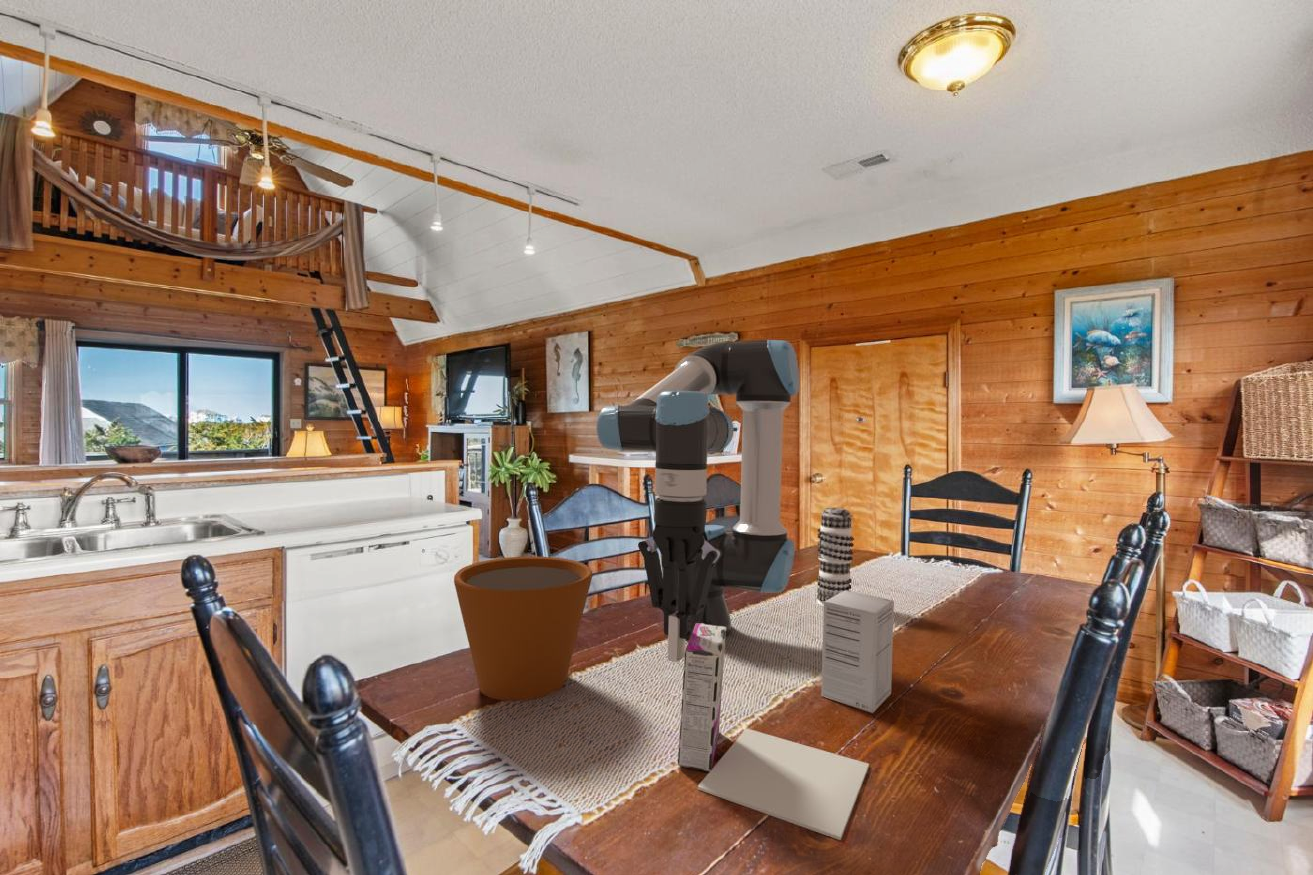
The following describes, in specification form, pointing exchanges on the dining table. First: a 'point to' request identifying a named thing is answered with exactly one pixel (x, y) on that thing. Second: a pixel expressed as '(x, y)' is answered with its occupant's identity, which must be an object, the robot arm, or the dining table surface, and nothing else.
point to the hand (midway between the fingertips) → (676, 658)
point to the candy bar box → (701, 696)
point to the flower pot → (522, 622)
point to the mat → (788, 781)
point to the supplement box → (857, 649)
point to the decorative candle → (834, 553)
